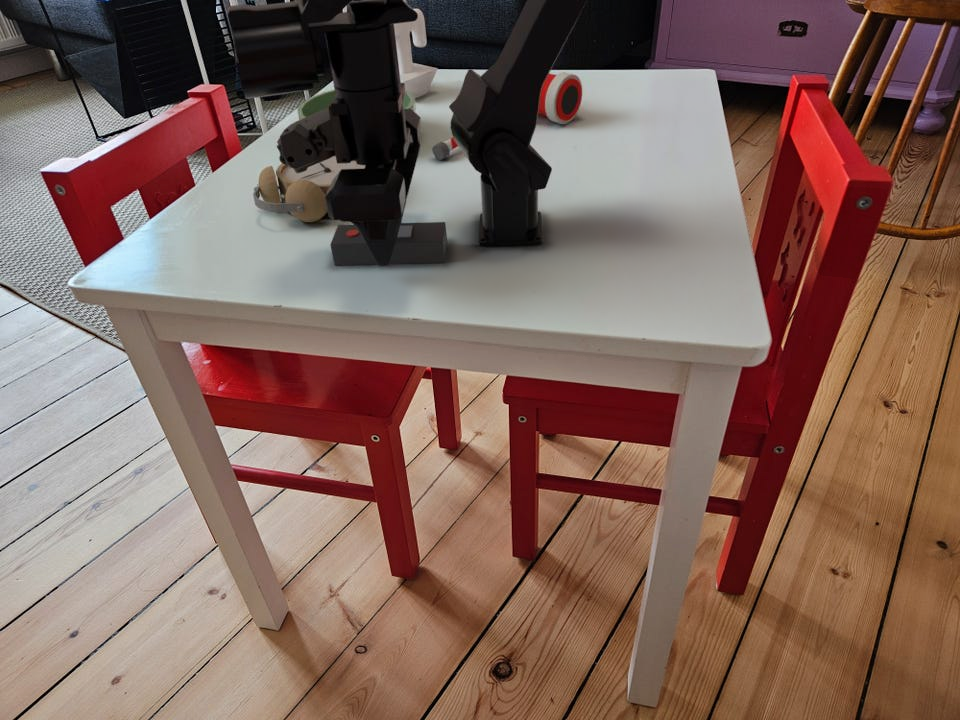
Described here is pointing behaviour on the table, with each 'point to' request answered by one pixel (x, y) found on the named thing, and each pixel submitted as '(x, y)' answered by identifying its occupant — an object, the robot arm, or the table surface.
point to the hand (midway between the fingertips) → (390, 241)
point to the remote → (410, 245)
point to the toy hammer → (542, 105)
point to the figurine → (411, 73)
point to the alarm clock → (299, 189)
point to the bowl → (327, 97)
